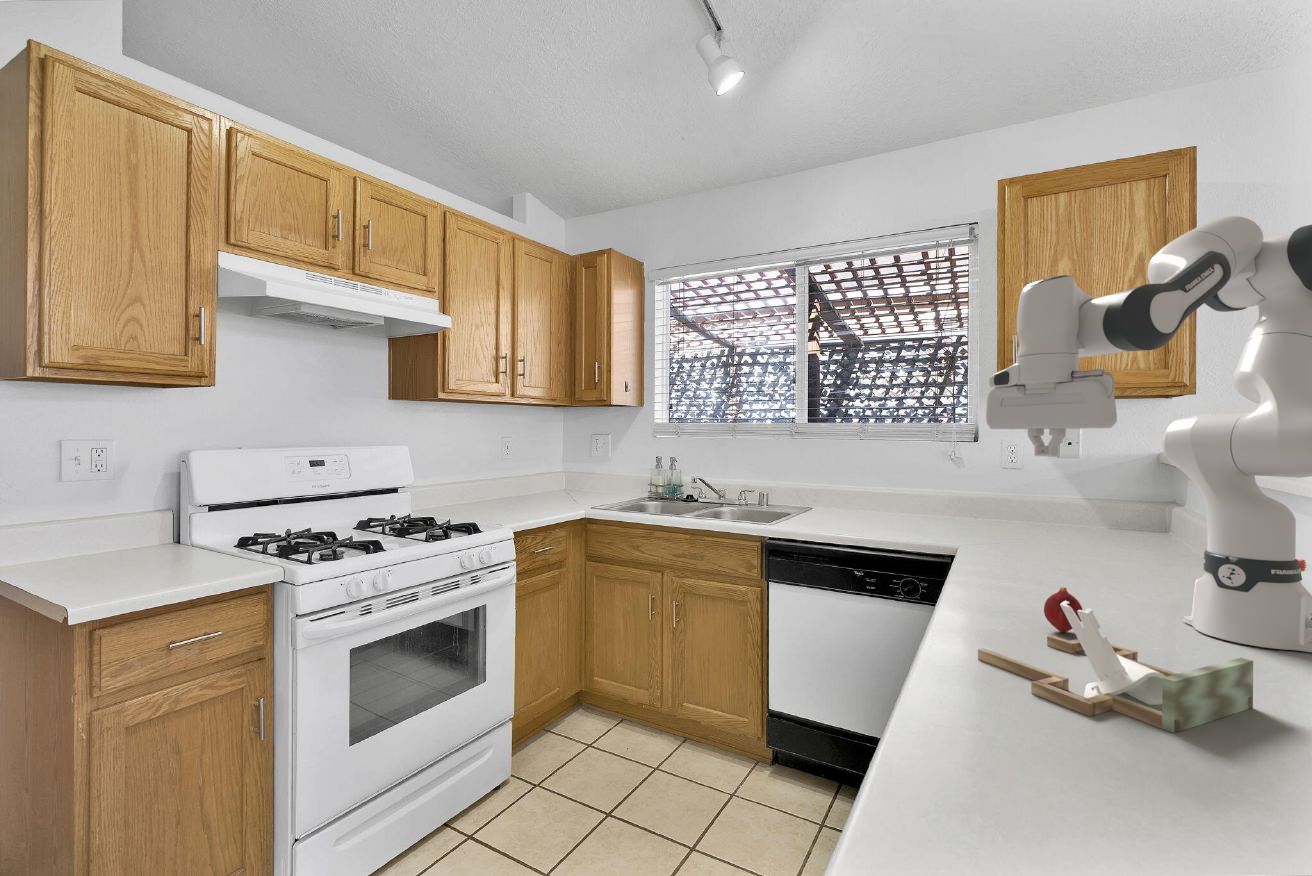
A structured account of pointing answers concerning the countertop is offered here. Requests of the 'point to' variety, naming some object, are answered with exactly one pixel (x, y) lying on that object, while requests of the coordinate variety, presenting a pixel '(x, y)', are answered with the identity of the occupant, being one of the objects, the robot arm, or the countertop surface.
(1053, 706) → the countertop surface
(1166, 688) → the trap lane
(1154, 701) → the plastic part
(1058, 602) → the onion
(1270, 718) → the countertop surface
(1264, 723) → the countertop surface
